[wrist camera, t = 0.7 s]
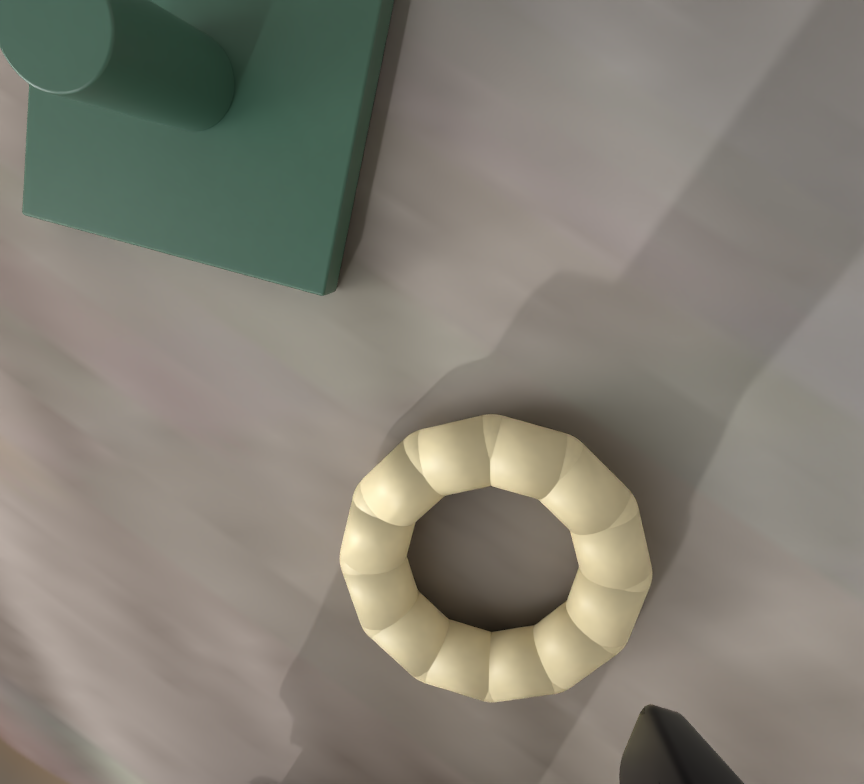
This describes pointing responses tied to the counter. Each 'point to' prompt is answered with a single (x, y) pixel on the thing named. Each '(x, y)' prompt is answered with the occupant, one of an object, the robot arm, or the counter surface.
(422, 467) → the ring
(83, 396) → the counter surface
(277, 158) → the stand
